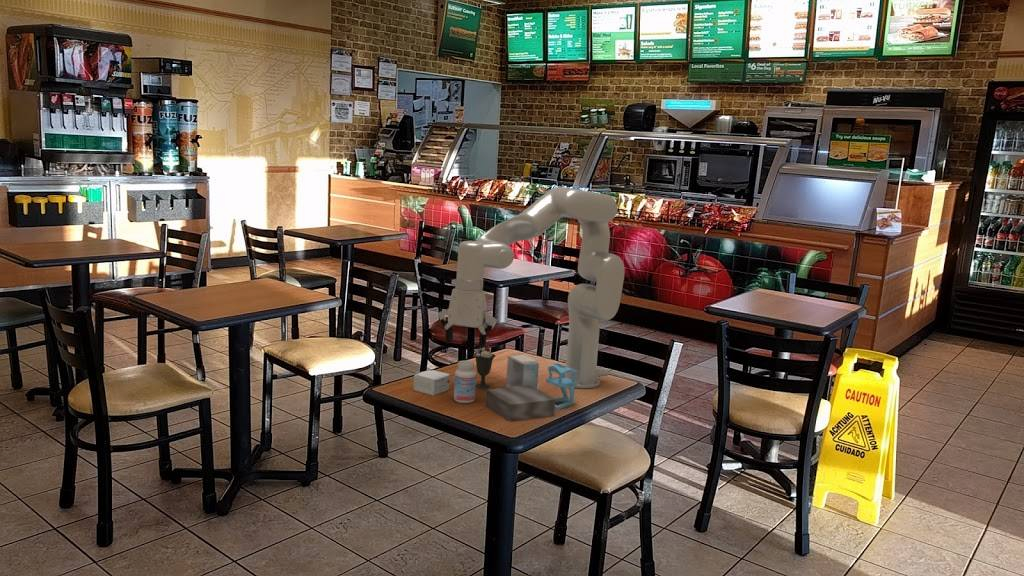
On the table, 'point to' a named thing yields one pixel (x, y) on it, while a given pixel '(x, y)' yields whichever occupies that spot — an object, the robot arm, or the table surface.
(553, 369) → the chair
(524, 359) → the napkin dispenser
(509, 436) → the table surface
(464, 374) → the pill bottle
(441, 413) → the table surface
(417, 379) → the small box
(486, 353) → the sundae
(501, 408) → the riser block
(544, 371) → the table surface
